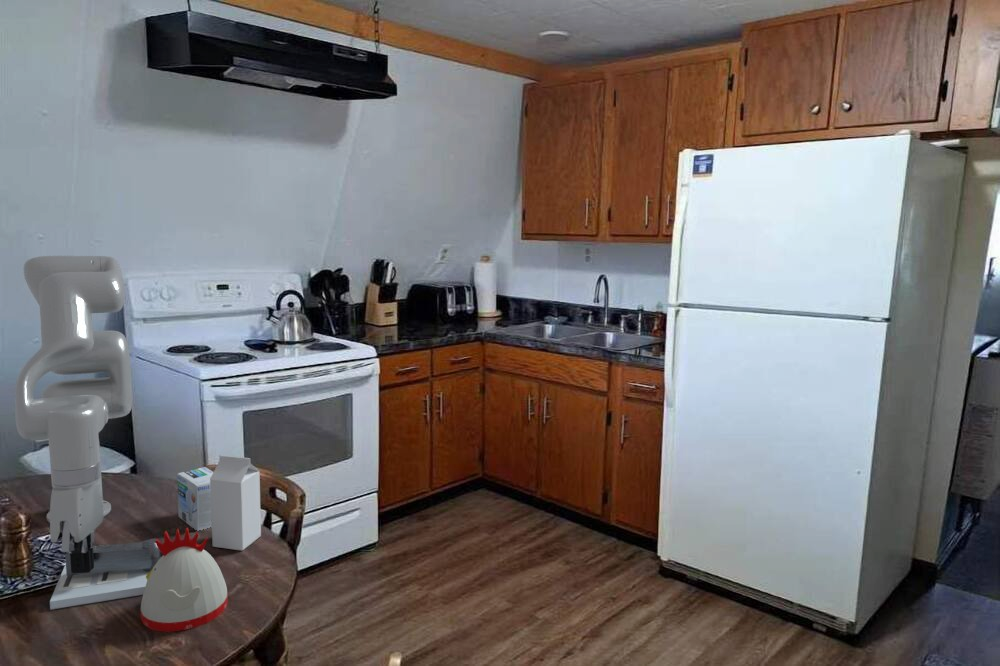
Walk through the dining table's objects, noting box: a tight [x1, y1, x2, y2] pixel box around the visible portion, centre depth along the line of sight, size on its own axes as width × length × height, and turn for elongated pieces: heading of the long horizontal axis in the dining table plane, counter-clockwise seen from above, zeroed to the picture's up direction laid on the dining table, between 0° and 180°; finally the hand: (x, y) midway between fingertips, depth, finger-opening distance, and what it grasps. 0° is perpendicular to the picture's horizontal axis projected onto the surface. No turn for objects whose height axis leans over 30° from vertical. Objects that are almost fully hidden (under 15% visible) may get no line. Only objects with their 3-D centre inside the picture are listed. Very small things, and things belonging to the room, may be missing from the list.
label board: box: [49, 563, 149, 610], centre depth 128 cm, size 17×15×2 cm
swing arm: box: [64, 538, 162, 576], centre depth 127 cm, size 3×16×5 cm, turn 105°
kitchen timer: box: [140, 527, 228, 633], centre depth 118 cm, size 14×14×15 cm
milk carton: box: [210, 454, 262, 551], centre depth 143 cm, size 7×7×19 cm
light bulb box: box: [176, 466, 214, 532], centre depth 154 cm, size 11×7×11 cm, turn 47°
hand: (82, 570), depth 123 cm, fingers closed
